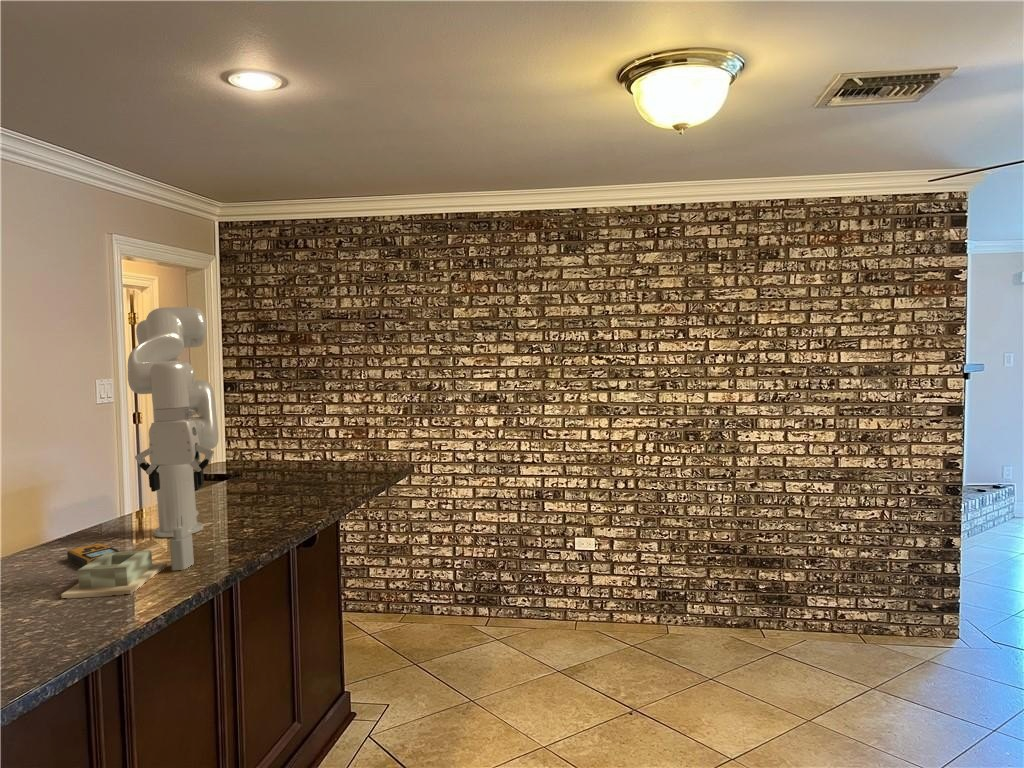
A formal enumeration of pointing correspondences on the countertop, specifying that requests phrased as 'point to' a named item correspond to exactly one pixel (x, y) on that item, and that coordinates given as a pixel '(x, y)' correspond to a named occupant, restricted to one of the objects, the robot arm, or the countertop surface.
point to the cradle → (114, 574)
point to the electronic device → (88, 553)
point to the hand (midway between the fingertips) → (177, 489)
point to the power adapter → (181, 548)
